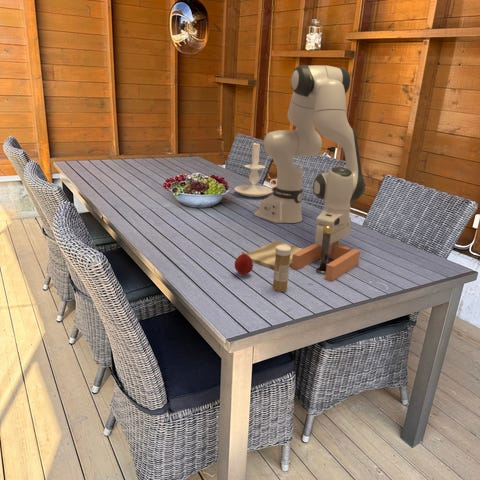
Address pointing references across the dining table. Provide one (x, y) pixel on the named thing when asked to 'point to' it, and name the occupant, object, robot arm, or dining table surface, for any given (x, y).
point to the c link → (340, 254)
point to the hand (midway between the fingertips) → (331, 252)
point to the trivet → (270, 254)
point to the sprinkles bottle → (281, 267)
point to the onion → (243, 264)
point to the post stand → (324, 249)
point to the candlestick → (255, 177)
